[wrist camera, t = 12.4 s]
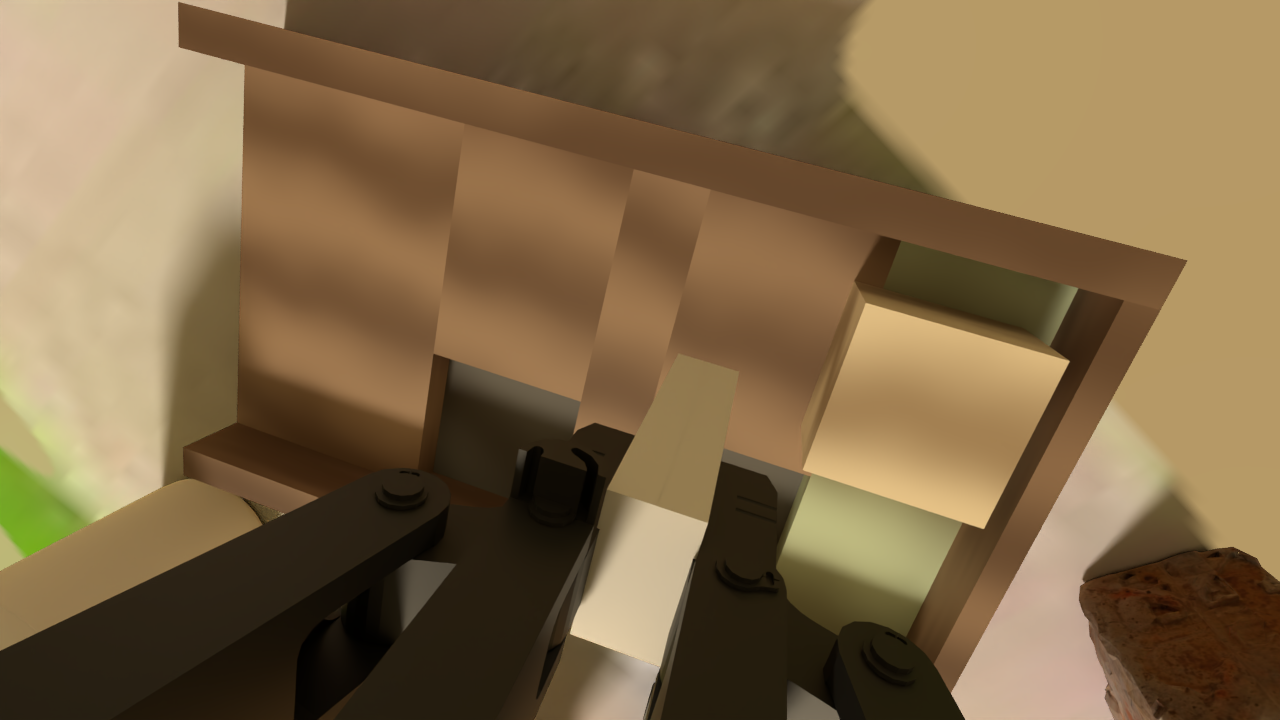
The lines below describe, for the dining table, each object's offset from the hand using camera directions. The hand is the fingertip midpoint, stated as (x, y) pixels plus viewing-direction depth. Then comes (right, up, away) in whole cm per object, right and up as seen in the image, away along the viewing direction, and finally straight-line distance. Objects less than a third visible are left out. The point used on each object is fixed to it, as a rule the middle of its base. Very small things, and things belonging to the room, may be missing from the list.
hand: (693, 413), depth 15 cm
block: (+9, +1, +8) cm, 12 cm away
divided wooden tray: (-4, +2, +13) cm, 14 cm away
